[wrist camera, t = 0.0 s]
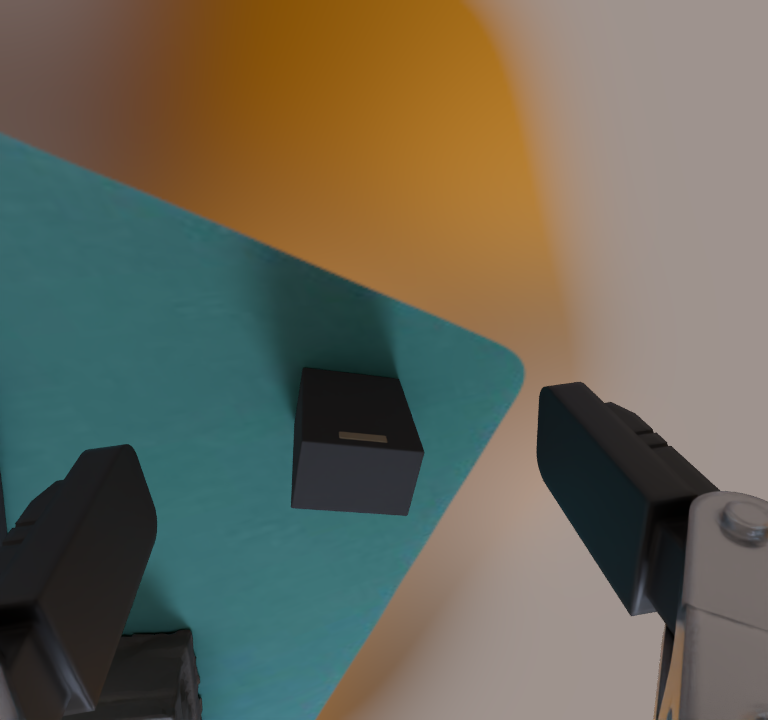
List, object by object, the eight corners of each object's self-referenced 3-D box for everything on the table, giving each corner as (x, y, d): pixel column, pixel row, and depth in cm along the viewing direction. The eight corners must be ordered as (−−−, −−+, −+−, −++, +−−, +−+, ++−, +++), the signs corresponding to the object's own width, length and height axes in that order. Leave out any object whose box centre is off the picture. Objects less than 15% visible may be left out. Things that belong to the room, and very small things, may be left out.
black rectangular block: (302, 366, 32) (301, 439, 24) (399, 377, 33) (425, 451, 26) (294, 424, 33) (290, 509, 26) (386, 433, 34) (407, 517, 27)
